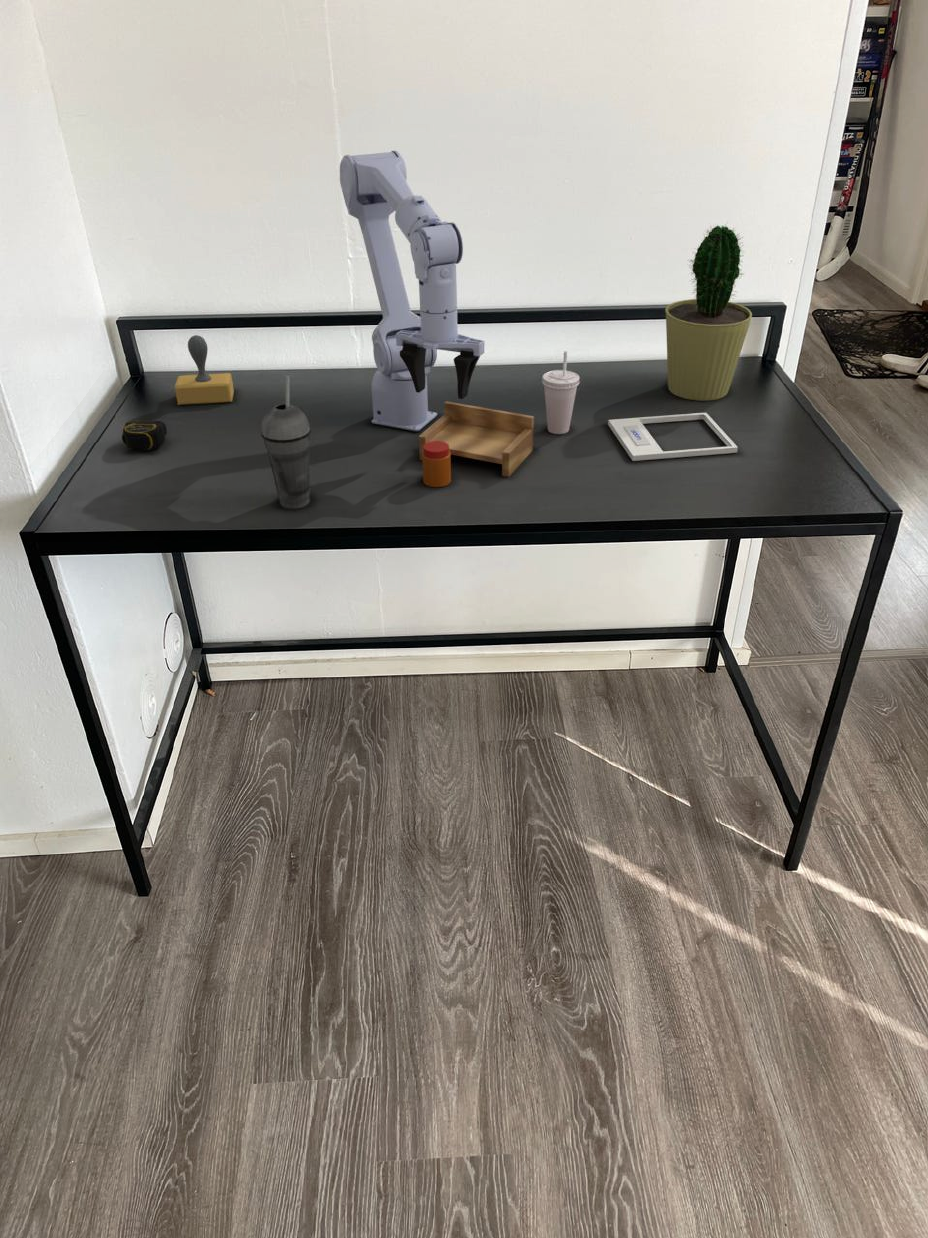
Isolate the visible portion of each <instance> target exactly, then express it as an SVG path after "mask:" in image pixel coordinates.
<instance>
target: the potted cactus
mask: <svg viewBox="0 0 928 1238" xmlns="http://www.w3.org/2000/svg"><path fill="white" fill-rule="evenodd" d="M728 223H729V221H727V222H726V224H725V225H721V226H720V225H716V224H714V227H712V225H711V224H709V225H710V226H709V228H706V230H704V232H705V233H704V232H702V233H703V239H701V241H702V242H700V245H698V247H697V248H696V247H694V249H695V250H696V252H695V251H694V252H693V251H692V253H693V254H694V258H693V259H692V260H688V262H689V263H691V264H692V266H691V265H688V268H689V270H690V269H691V270H690V271H691V272H690V273H688V274H689V275H691V276H693V275H694V277H692V279H690V280H689V282H692V283H693V284H694V287H693V289H692V290H691V291H692V292H691V293H690V294H691V295H695V297H693V298H689V299H682V300H677V301H675V302H672V303H669V304H668V305H667V306H666V307H665V310H664V311H665V326H666V327H665V329H666V358H667V359H666V361H667V362H666V364H667V387H668V388H667V389H668V391H669V392H670V393H672V394H673V395H675V396H677V397H679V398H682V399H685V400H692V401H714V400H719V399H722V398H724V397H726V396H727V395H728V393H729V391H730V387H731V385H732V382H733V379H734V376H735V371H736V369H737V365H738V362H739V359H740V356H741V353H742V350H743V346H744V343H745V340H746V337H747V334H748V330H749V328H750V325H751V321H752V317H753V313H752V311H751V309H749V308H747V306H743V305H741V304H739V303H736V302H732V301H730V300H734V298H733V297H734V296H736V294H735V293H738V294H739V292H738V291H736V290H735V291H734V286H735V285H736V282H737V281H738V280H739V279H741V276H743V275H744V273H743V272H741V268H740V267H739V266H741V267H743V266H742V264H741V263H742V260H741V257H743V255H741V253H744V252H745V251H744V250H743V248H742V247H744V244H743V243H744V241H743V242H742V241H741V239H743V238H744V236H741V237H740V234H741V232H740V233H737V234H736V233H735V232H736V230H735V228H732V229H730V228H729V227H728V226H727V224H728ZM709 229H710V230H709ZM738 237H739V238H738ZM740 241H741V242H740ZM741 244H742V245H741ZM733 292H734V293H733Z"/></svg>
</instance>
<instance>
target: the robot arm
mask: <svg viewBox="0 0 928 1238" xmlns="http://www.w3.org/2000/svg"><path fill="white" fill-rule="evenodd" d="M339 185H340V188H341V192H342V196H343V199H344V203H345V207H346V208H347V212H348V215H349V216H351V217H353V218H355V219H357V220H358V224H359V227H360V232H361V235H362V238H363V242H364V246H365V251H366V254H367V258H368V262H369V266H370V271H371V274H372V278H373V283H374V287H375V291H376V295H377V298H378V303H379V306H380V310H381V314H382V319H381V321H380V322H379V323H378V324H377V326H376V327H375V328H374V329H373V331H372V334H371V342H372V346H373V348H372V349H373V350H372V353H373V359H374V363H375V367H376V369H377V370H376V371H375V373H374V375H373V377H372V380H371V400H372V402H371V403H372V416H373V419H371V424H374V425H379V426H383V427H384V426H386V427H390V428H394V429H401V430H407V431H411V432H420V431H421V430H422V429H423V428H424V427H426V426H427V425H428V424H429V423H430V422H431V421H433V420H434V419H435V418H437V416H438V412H434V411H429V401H428V398H429V397H428V374H431V368H433V367H434V366H435V363H436V362H437V359H438V351H447V352H453V353H459V354H458V355H456V356H455V357H454V358H453V363H454V367H455V368H454V369H455V373H456V379H457V398H458V399H459V400H463V399H464V398H466V397H467V396H468V395H469V394H468V393H469V388H470V383H471V381H472V380H471V379H472V376H473V373H474V371H475V368H476V366H477V364H478V361H480V357H481V356H482V355H484V354H485V340H482V339H478V338H473V337H471V336H466V335H464V334H461V333H460V334H459V331H458V329H459V326H458V290H457V289H458V288H457V287H458V286H457V285H458V284H457V265H458V264H459V263H461V261H462V258H463V255H464V254H463V253H464V243H463V237H462V234H461V231H460V229H459V227H458V225H457V224H456V223H455V222H454V221H451V222H448V221H443V220H442V219H441V218H440V217H439V216H438V213H436V211H435V210H434V209H433V207H432V206H431V204H429V202H428V200H427V199H426V198H424V197H423V196H422V195H415V194H414V192H413V190H412V188H411V187H410V186H409V184H408V182H407V167H406V163H405V160H404V157H403V155H402V154H401V153H400V152H399V151H398V150H391V151H387V152H377V153H376V152H375V153H366V154H355V155H354V154H353V155H350V154H344V155H343V157H342V159H341V160H340V163H339ZM394 212H395V214H394V220H395V224H396V225H397V227H398V228H399V230H400V232H401V233H402V234H403V235H404V237H405V239H406V240H407V241H408V243H409V247H410V248H409V249H410V254H411V259H412V261H413V265H414V266H413V267H414V274H415V278H416V279H418V293H419V315H417V314H416V313H414V312H412V310H411V305H410V303H409V302H410V301H409V298H408V294H407V289H406V285H405V282H404V281H405V280H404V277H403V274H402V269H401V265H400V262H399V258H398V252H397V249H396V245H395V241H394V237H393V232H392V228H391V225H390V221H389V219H390V215H392V214H393V213H394Z"/></svg>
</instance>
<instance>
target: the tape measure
mask: <svg viewBox="0 0 928 1238" xmlns="http://www.w3.org/2000/svg"><path fill="white" fill-rule="evenodd" d="M167 433H168V429H167V425H166V423H165V422H163V421H159V420H142V421H141V420H140V421H128V422H125V424H124V427H123V429H122V434H121V441H122V443H123V444H124V445H126V447H127V448H128V449H130V450H134V451H152V450H153V449H156V448H158V447H161V446H163V444H164V443H165V442H166V435H167Z"/></svg>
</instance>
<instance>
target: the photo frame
mask: <svg viewBox="0 0 928 1238" xmlns="http://www.w3.org/2000/svg"><path fill="white" fill-rule="evenodd" d="M697 420H703V421H704V423H706V424H707V425H708V427H709V428H710V429H711V430H712V431H713V432H714V433H715V435H717V436H718V438H719V439H720V440H721V441H722V442H723V443H724V444H725V446H716V447H715V446H714V447H705V448H690V449H679V450H678V449H677V450H667V451H665V450H662V448H661V447H660V445H659V444H658V442H657V441H656V440H655V439H654V437H653V436H652V435H651V433H650V432H649V430H648V429H647V428H646V427H645V425H646V424H658V423H671V422H684V421H697ZM644 424H645V425H644ZM607 425H608V427H609V428H610V430H611V431H612V433H613V435H614V436H615V437H616V439H617V440H618V442H619V444H620V445H621V447H623V449H624V450H625V452H626V454H627V455H628V457H629V458H630V459H631V462H636V461H637V462H638V461H648V460H661V459H675V458H685V457H698V456H699V457H700V456H712V455H725V454H735V453H738V449H739V447H738V446H737V445H736V443H735V442H734V441H733V440H732V439H731V438H730V437H729V436H728V435H727V434H726V432H725V431H724V430H723V429H722V428H721V427H720V426H719V425H718V423H716V421H715V420H714V419H713V418H712V417H711V416H710V415H709V414H708V413H707V412H695V413H682V414H670V415H668V414H667V415H656V416H655V415H653V416H643V417H630V418H629V417H628V418H616V419H615V418H614V419H608V422H607Z"/></svg>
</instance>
